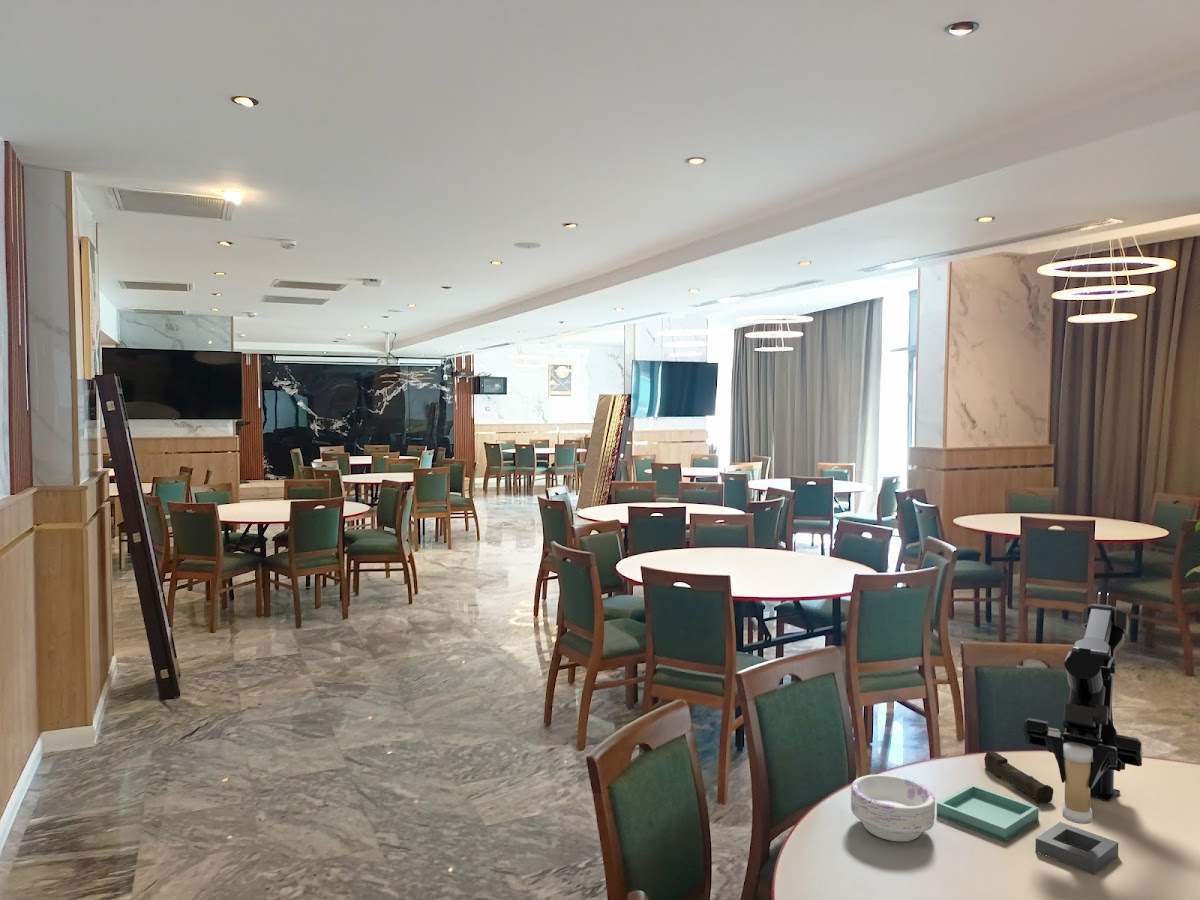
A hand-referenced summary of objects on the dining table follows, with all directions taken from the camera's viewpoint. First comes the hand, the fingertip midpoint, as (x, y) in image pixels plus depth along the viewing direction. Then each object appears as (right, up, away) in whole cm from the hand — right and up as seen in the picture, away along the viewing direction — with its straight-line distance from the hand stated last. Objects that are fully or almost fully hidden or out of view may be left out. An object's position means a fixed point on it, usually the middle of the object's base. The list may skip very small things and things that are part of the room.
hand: (1076, 784), depth 150 cm
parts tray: (-9, -13, +16) cm, 22 cm away
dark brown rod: (+3, -13, +30) cm, 33 cm away
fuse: (+1, -7, +1) cm, 7 cm away
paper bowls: (-29, -13, +11) cm, 34 cm away
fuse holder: (+1, -13, +2) cm, 13 cm away
